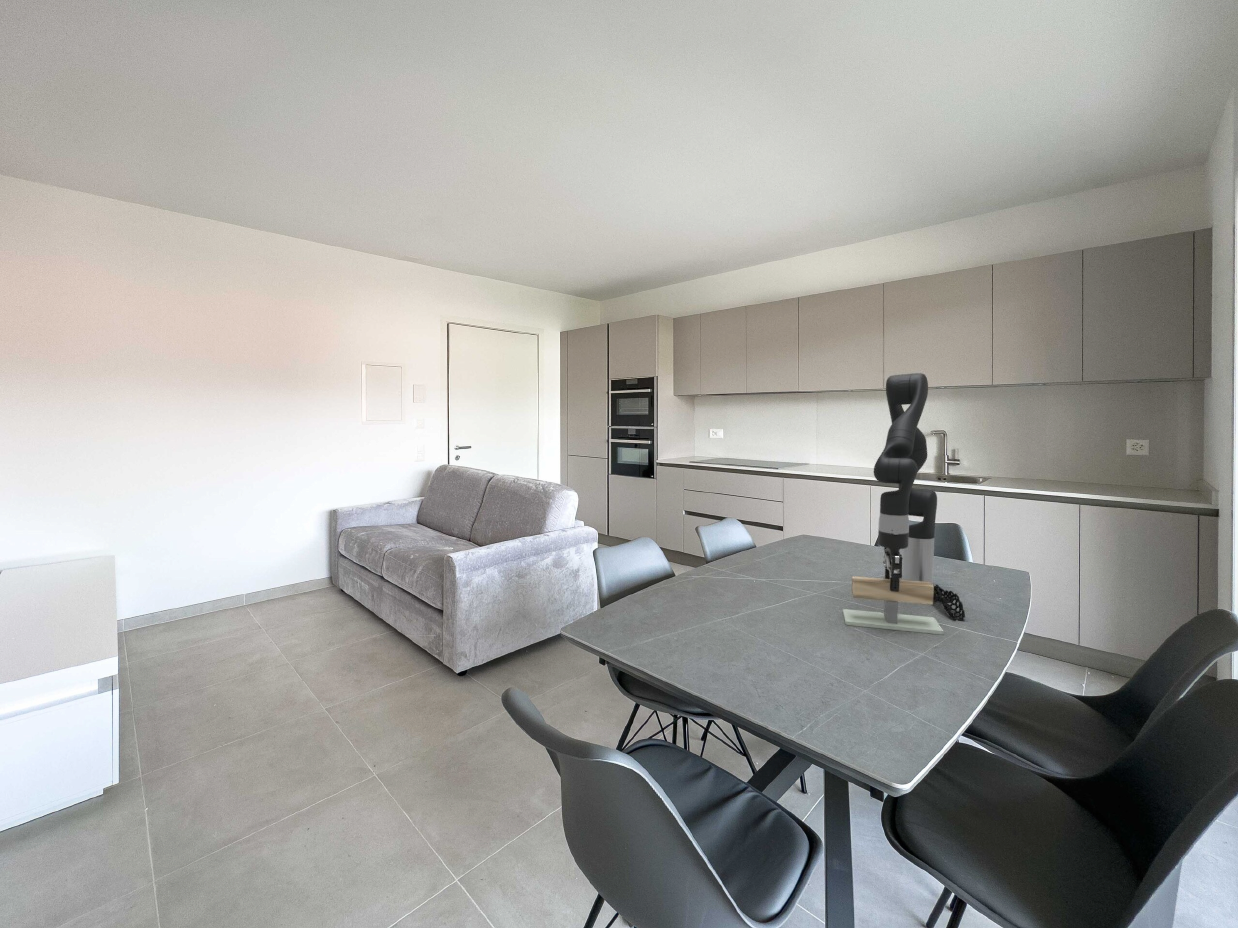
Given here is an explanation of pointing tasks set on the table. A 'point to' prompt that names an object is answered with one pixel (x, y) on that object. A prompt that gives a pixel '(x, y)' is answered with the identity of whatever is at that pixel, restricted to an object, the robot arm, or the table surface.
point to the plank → (881, 591)
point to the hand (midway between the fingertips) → (891, 586)
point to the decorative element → (949, 599)
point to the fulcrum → (892, 620)
